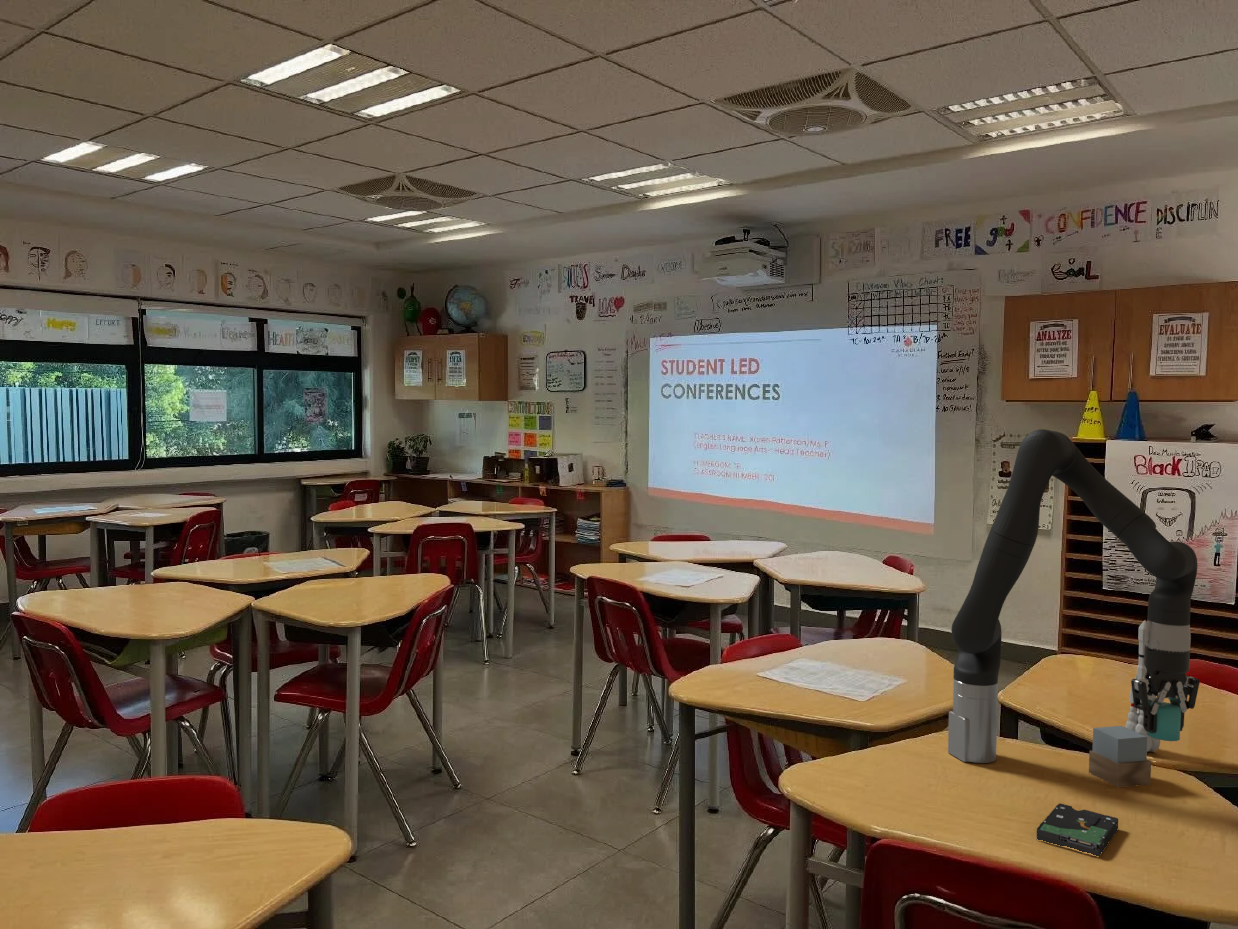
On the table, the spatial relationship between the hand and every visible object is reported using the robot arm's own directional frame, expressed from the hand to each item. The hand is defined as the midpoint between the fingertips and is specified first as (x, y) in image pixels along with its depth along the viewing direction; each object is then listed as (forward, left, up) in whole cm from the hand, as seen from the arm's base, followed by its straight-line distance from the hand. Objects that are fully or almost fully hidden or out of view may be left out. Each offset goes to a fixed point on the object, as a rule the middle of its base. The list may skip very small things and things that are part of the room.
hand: (1163, 730), depth 173 cm
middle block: (+2, +13, -10) cm, 17 cm away
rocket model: (+20, +26, -15) cm, 36 cm away
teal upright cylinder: (0, 0, -1) cm, 1 cm away
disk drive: (-25, -7, -15) cm, 31 cm away
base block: (+2, +13, -15) cm, 20 cm away
